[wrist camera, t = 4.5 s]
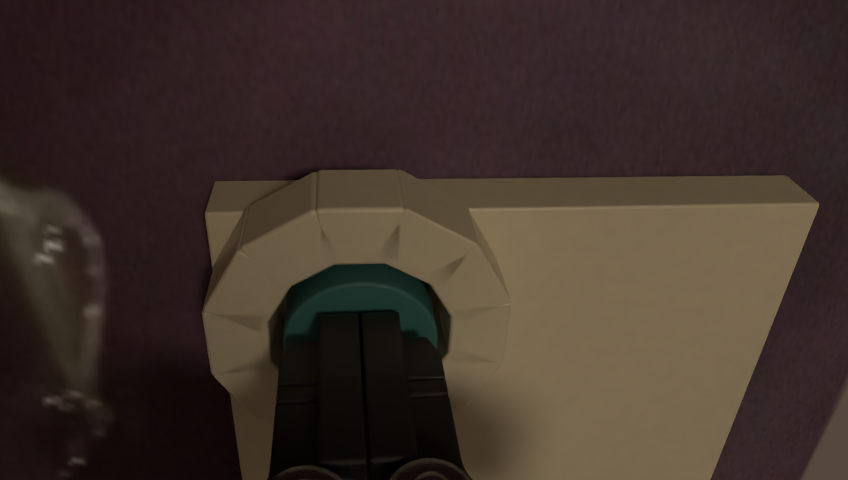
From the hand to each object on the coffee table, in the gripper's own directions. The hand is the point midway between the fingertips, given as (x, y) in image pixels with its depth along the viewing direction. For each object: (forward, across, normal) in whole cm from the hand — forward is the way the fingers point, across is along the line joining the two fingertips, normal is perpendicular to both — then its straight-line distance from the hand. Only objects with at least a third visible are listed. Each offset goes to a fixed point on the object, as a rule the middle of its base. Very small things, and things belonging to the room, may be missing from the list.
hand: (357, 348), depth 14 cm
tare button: (+2, 0, 0) cm, 2 cm away
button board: (+3, -4, +7) cm, 8 cm away
